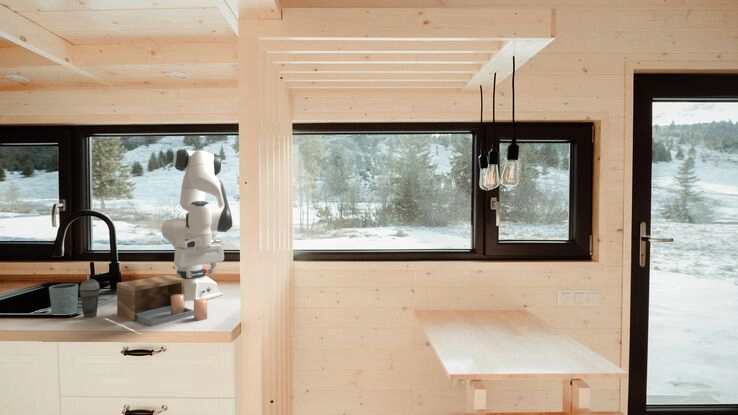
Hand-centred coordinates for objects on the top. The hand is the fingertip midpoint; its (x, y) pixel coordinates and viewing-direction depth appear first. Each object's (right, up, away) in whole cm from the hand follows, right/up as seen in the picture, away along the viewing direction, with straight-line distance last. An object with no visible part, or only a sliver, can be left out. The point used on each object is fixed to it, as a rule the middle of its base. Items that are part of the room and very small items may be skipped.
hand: (200, 275), depth 173 cm
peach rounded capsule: (0, -18, +1) cm, 18 cm away
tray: (-16, -18, +2) cm, 24 cm away
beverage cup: (-47, -18, +4) cm, 50 cm away
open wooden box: (-24, -18, +9) cm, 31 cm away
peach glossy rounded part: (-12, -17, +6) cm, 22 cm away
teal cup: (-60, -18, +7) cm, 63 cm away
